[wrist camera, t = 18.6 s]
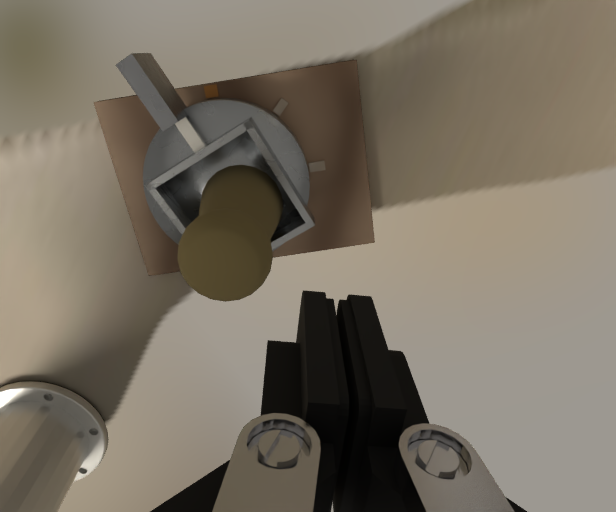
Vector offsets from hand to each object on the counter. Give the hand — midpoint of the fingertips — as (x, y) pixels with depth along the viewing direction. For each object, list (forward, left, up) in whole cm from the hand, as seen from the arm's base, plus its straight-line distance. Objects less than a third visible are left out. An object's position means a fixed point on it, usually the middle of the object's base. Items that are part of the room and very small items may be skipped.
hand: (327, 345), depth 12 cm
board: (-5, -2, -27) cm, 28 cm away
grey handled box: (-7, 0, -26) cm, 26 cm away
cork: (-5, -3, -24) cm, 25 cm away
